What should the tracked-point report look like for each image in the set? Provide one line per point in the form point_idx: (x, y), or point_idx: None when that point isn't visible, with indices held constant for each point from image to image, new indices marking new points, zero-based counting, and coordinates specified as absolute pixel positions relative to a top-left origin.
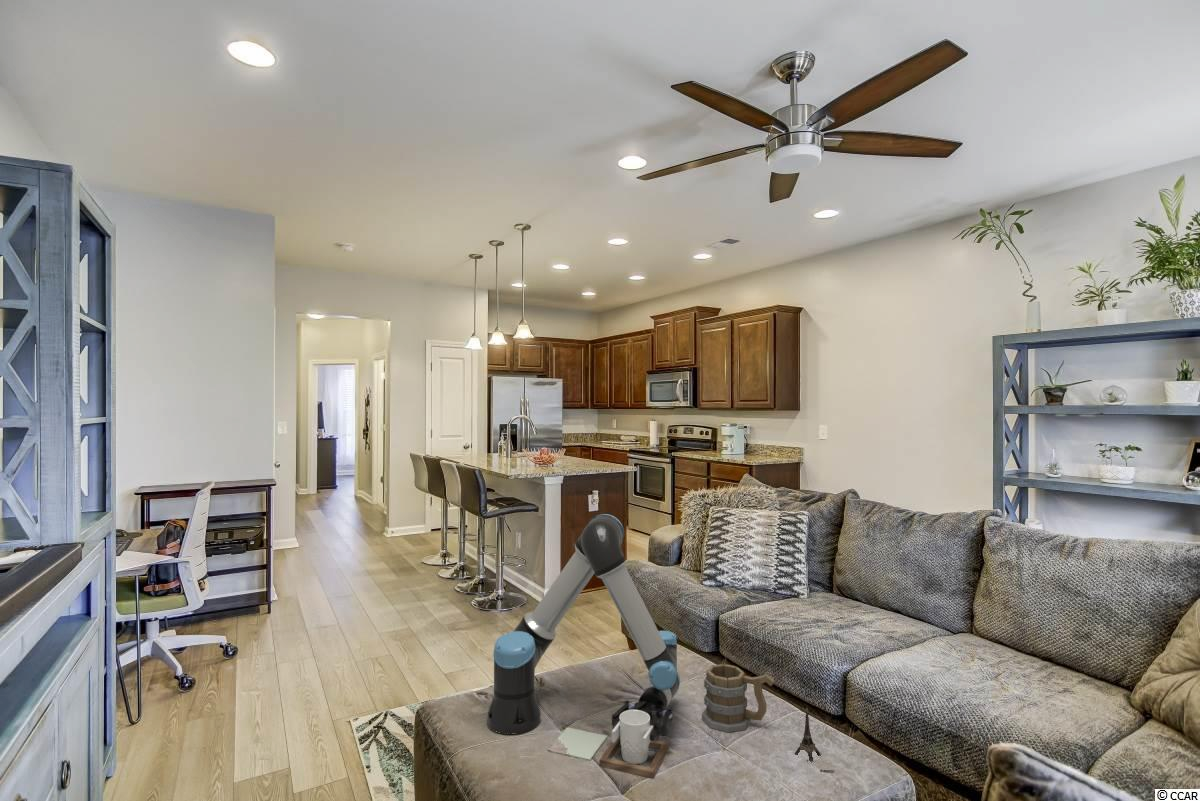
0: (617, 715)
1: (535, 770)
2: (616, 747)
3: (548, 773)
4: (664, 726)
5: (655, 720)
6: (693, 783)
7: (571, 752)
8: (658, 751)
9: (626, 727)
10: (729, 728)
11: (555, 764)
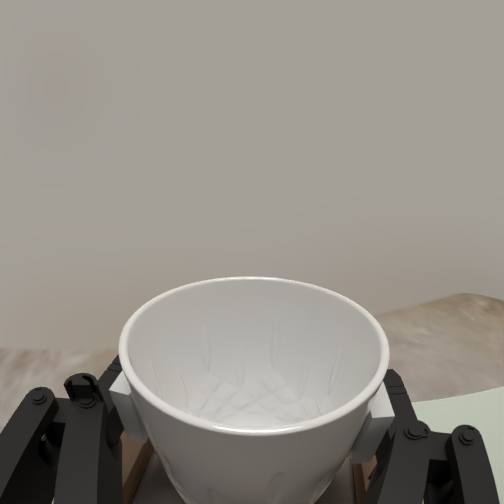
0: (454, 460)
1: (470, 336)
2: (360, 500)
3: (445, 338)
4: (37, 388)
5: (75, 465)
6: (47, 370)
7: (475, 402)
8: (122, 481)
9: (284, 300)
10: None
11: (462, 362)
